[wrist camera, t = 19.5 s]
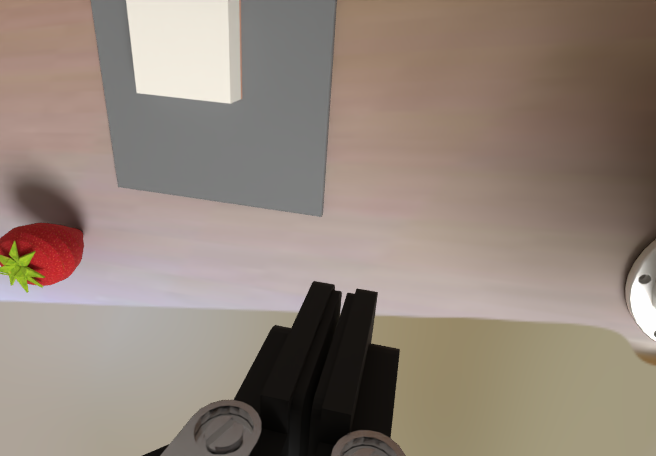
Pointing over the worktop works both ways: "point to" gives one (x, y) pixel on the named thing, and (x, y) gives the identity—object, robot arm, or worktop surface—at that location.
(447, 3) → the worktop surface
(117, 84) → the mat
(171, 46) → the tile
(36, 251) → the strawberry
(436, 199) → the worktop surface
